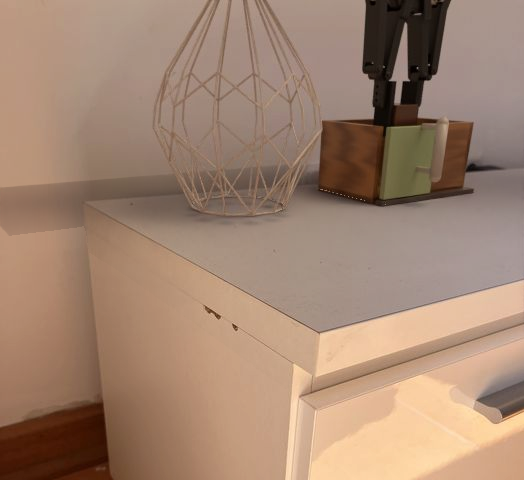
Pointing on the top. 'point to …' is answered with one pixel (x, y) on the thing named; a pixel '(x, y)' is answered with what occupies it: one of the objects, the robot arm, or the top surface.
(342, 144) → the box
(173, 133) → the table lamp
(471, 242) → the top surface
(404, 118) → the block
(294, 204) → the top surface
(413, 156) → the sliding door
